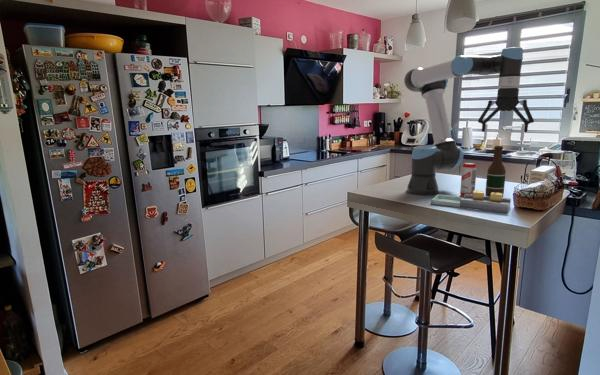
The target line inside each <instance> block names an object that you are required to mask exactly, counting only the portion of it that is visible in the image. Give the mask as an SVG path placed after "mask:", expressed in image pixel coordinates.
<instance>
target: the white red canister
mask: <svg viewBox="0 0 600 375" xmlns="http://www.w3.org/2000/svg"><path fill="white" fill-rule="evenodd" d="M476 164H477V163H476V162H471V161H470V162H467V161H466V162H463V165H462V166H461V179H460V190H459V192H460V196H461V197H463V196H464V195H465V194H472V193H473V191H476V182H477V181H476V180H477V165H476Z"/></svg>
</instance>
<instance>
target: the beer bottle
mask: <svg viewBox="0 0 600 375" xmlns="http://www.w3.org/2000/svg"><path fill="white" fill-rule="evenodd" d="M493 149H494V152H493V156H492V157H493V158H492V160H491V161H492V162H491V163H490V165H488V167H487V168H488V169H487V172H486V181H485V182H486V183H485V193H484V196H491V193H492V192H496V193H503V194H502V198H504V194H505V193H504V192H505V183H506V173H507V172H506V167H505V166H504V164H503V149H504V147H503V146H502V145H495V146H494V147H493Z"/></svg>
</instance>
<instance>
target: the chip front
mask: <svg viewBox="0 0 600 375" xmlns="http://www.w3.org/2000/svg"><path fill="white" fill-rule="evenodd" d="M502 194H503V193H496V192H492V193H491V196H490V201H491V202H500V203H502V198H503V197H502ZM503 195H504V194H503Z"/></svg>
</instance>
